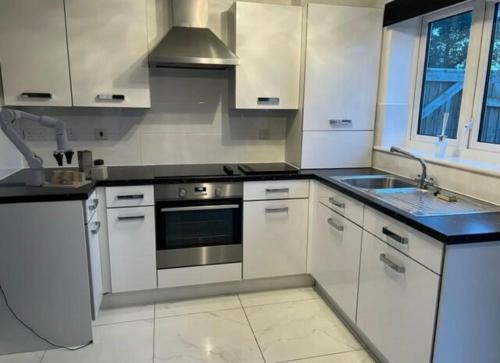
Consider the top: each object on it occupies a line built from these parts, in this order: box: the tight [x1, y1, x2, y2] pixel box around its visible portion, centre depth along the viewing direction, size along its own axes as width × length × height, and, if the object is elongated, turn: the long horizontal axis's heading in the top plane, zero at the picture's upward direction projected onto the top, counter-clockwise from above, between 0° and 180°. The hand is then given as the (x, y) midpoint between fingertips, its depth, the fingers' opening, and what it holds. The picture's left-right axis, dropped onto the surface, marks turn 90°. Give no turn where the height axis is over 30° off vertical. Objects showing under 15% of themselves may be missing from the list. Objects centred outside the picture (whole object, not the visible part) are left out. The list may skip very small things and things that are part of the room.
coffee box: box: [76, 149, 94, 178], centre depth 233 cm, size 9×6×16 cm
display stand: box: [42, 171, 92, 189], centre depth 209 cm, size 20×15×6 cm
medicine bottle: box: [91, 158, 109, 181], centre depth 224 cm, size 7×7×12 cm
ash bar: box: [50, 170, 79, 181], centre depth 206 cm, size 14×4×5 cm, turn 80°
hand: (65, 165), depth 213 cm, fingers open, 7 cm apart
